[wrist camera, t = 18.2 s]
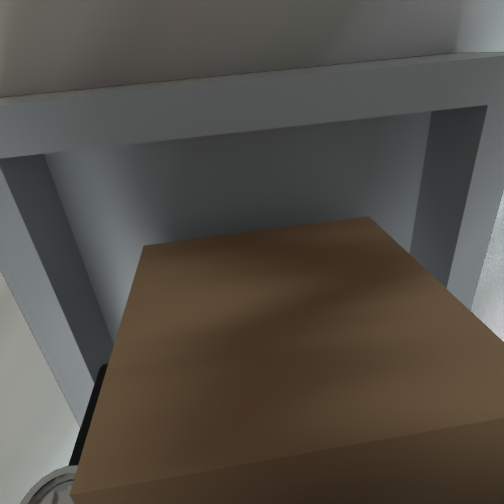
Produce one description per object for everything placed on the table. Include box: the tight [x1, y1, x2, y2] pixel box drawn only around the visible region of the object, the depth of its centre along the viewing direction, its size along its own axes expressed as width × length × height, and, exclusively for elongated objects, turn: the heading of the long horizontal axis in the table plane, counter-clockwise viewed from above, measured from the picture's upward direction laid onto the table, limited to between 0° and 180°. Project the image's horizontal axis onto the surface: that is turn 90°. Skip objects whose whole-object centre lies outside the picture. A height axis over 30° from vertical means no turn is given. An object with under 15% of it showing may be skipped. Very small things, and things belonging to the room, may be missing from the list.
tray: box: [0, 52, 504, 428], centre depth 12 cm, size 13×13×3 cm
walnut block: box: [69, 216, 504, 504], centre depth 8 cm, size 6×6×6 cm
